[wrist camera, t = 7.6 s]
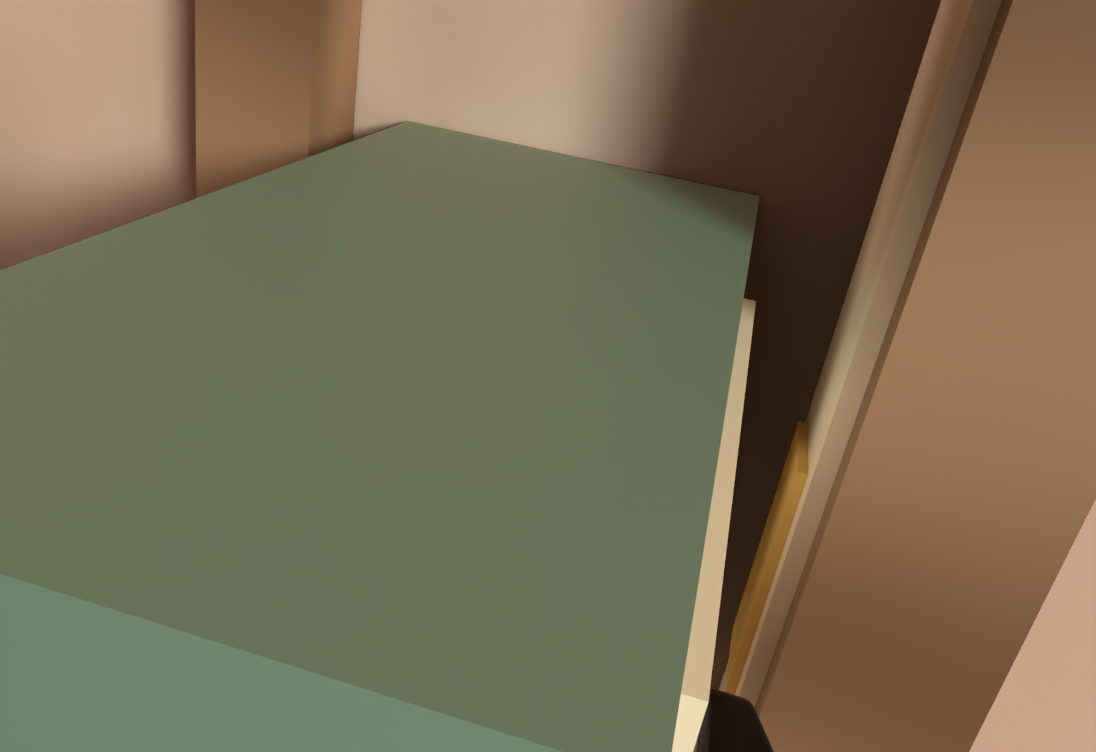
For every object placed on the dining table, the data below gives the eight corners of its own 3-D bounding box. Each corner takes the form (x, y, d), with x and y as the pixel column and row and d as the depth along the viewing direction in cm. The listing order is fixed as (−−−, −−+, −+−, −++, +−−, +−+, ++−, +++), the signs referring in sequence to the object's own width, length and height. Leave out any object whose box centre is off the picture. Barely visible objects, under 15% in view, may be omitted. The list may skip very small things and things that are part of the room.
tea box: (367, 564, 15) (-151, 1273, 7) (407, 120, 12) (-444, 434, 4) (655, 648, 14) (465, 1559, 6) (776, 199, 11) (727, 803, 3)
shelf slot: (266, -869, 8) (-50, -1365, 5) (1508, -830, 7) (2103, -1517, 4) (234, 861, 19) (121, 1038, 16) (723, 1044, 17) (703, 1280, 14)
